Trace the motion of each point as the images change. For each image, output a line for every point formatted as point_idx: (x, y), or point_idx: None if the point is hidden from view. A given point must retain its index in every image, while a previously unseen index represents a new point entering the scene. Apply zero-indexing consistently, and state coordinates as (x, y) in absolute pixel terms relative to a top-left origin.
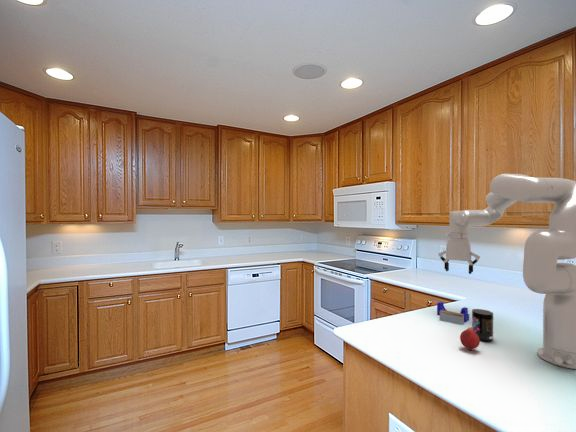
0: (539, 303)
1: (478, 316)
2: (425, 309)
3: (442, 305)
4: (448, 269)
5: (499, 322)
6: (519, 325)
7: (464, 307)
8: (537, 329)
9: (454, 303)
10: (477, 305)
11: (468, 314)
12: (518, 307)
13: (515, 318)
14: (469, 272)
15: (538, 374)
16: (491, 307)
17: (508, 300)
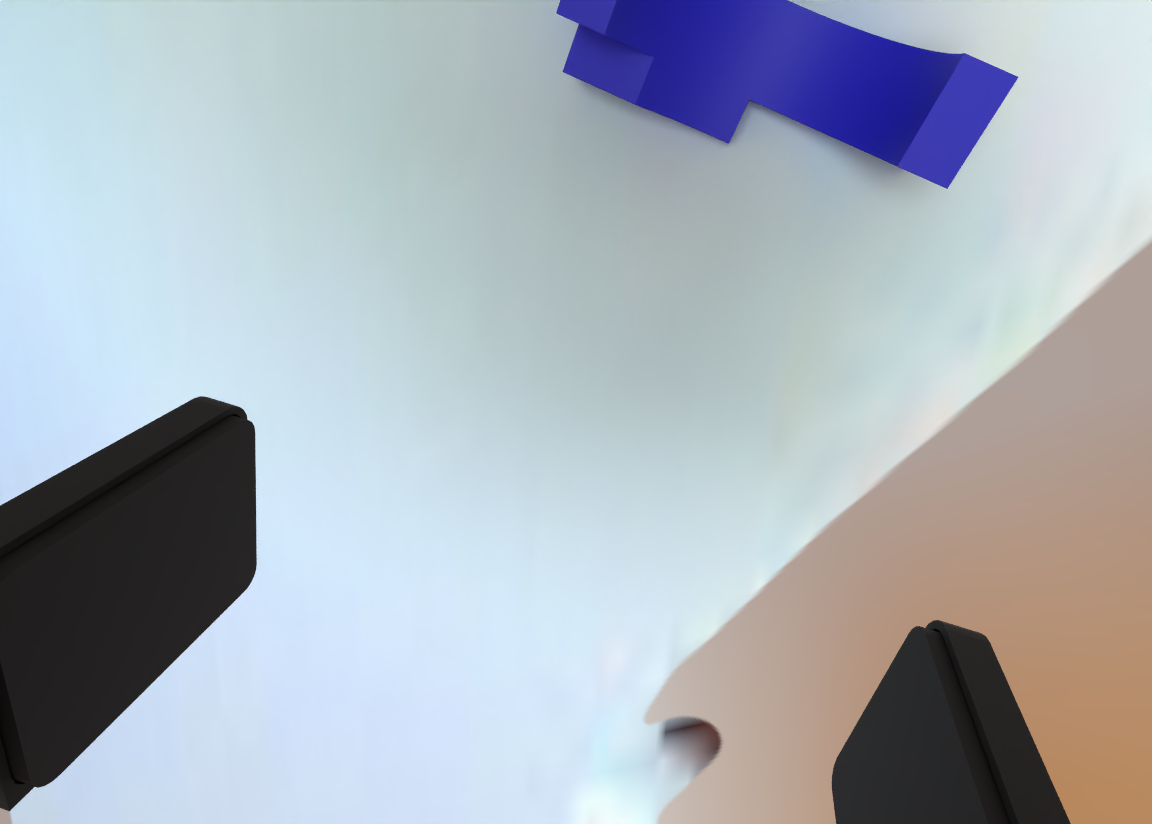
0: (134, 788)
1: None
2: (1082, 277)
3: (909, 119)
4: (853, 769)
5: (312, 166)
6: (171, 164)
7: (600, 16)
8: (54, 119)
9: (682, 634)
10: (487, 634)
11: (570, 50)
12: (224, 671)
13: (215, 371)
14: (202, 412)
15: None
16: (385, 613)
17: (290, 812)
